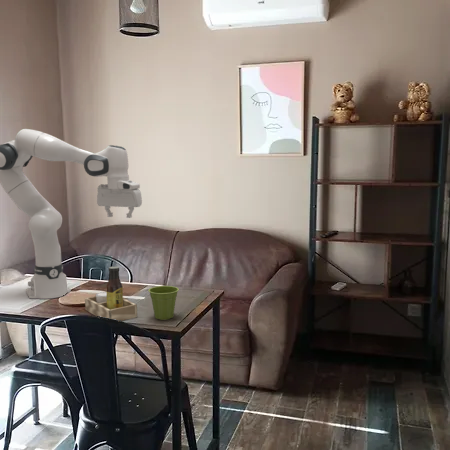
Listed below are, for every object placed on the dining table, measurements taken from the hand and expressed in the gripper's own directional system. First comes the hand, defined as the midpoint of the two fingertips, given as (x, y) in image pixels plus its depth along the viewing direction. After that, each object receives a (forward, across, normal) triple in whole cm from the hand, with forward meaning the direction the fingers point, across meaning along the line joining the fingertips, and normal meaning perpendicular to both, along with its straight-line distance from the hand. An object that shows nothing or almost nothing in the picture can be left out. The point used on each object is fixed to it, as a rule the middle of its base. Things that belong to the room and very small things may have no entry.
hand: (119, 217), depth 213 cm
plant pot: (+37, +26, -12) cm, 47 cm away
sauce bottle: (+37, +8, -18) cm, 42 cm away
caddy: (+37, +4, -15) cm, 40 cm away
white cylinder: (+37, -1, -12) cm, 39 cm away
